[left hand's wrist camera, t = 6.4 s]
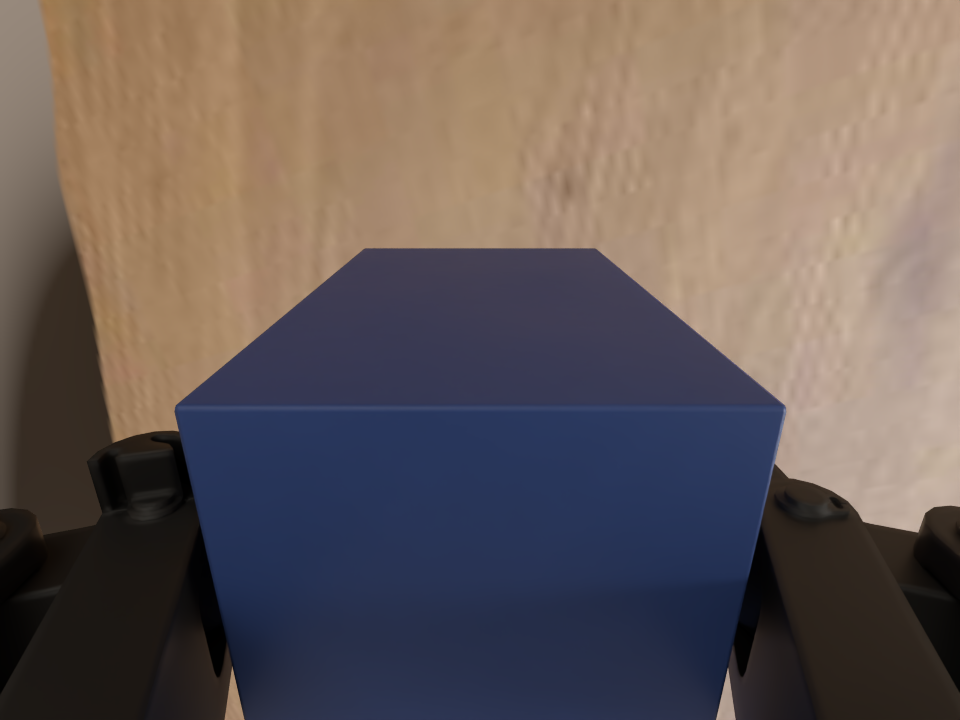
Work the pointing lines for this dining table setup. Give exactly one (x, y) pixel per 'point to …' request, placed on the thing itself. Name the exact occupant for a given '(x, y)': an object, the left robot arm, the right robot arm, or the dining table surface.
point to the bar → (480, 495)
